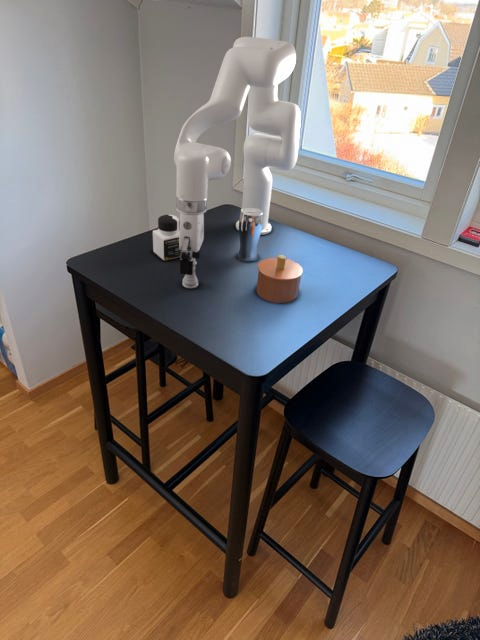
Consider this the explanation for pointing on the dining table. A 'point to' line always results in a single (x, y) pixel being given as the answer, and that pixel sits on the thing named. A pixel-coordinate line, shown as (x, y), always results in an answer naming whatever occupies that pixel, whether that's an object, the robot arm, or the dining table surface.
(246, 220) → the metal shaker cup
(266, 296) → the pot
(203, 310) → the dining table surface
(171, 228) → the medicine bottle
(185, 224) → the robot arm
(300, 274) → the pot lid
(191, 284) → the rook chess piece
